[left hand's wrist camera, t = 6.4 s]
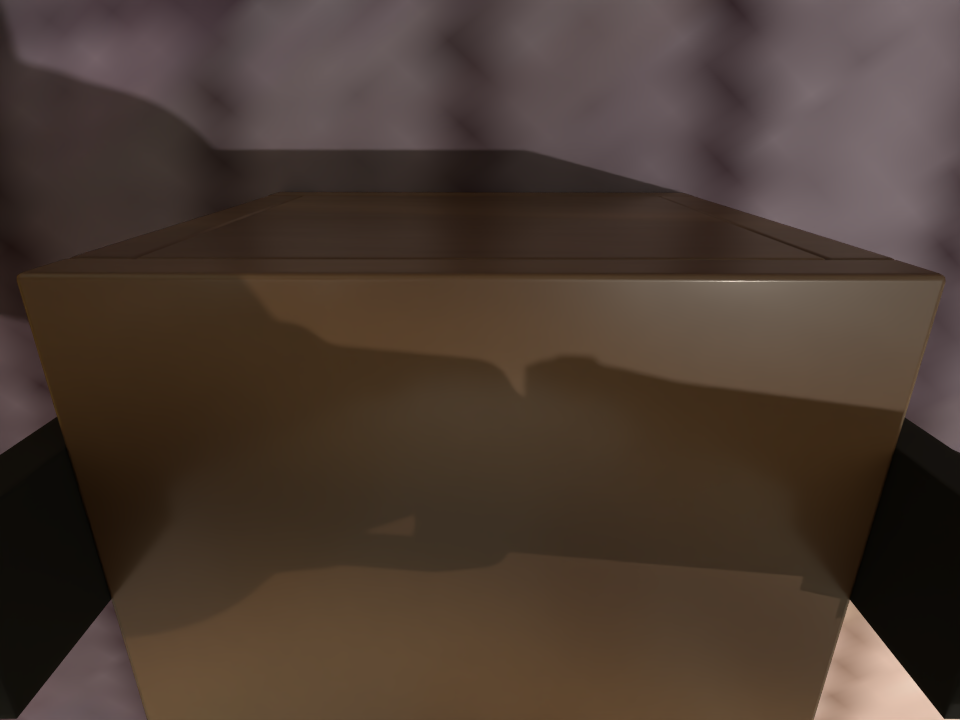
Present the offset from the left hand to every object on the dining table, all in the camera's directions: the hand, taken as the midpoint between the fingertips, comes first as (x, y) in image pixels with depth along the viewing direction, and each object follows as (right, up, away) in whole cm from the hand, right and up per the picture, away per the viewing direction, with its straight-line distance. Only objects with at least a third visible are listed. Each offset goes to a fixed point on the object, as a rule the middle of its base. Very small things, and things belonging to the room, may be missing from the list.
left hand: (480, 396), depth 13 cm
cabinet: (0, -4, +8) cm, 9 cm away
